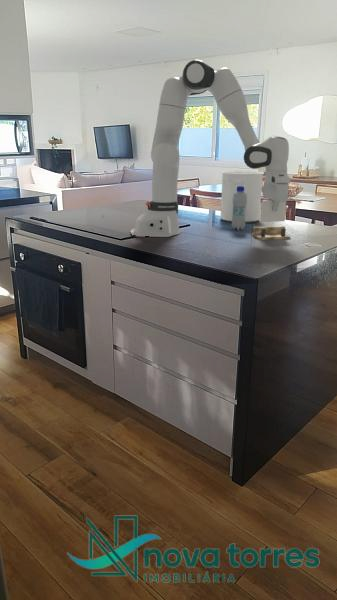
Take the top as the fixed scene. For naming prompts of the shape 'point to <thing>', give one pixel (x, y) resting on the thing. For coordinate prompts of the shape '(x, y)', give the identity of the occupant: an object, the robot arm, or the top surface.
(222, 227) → the top surface
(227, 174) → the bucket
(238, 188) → the bottle
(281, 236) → the tan pegged board
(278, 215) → the white rectangular block
